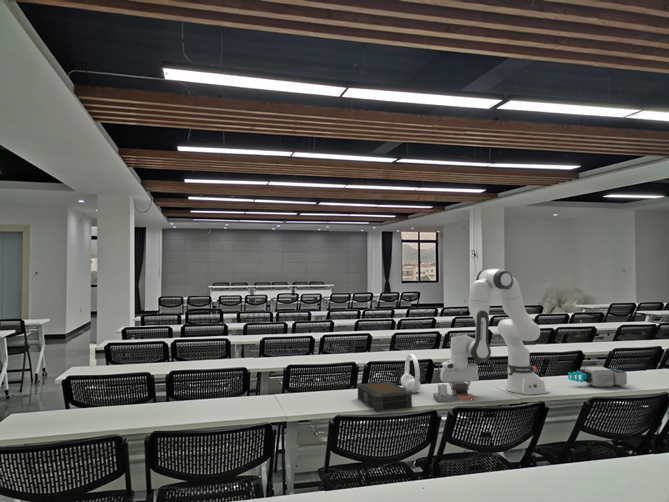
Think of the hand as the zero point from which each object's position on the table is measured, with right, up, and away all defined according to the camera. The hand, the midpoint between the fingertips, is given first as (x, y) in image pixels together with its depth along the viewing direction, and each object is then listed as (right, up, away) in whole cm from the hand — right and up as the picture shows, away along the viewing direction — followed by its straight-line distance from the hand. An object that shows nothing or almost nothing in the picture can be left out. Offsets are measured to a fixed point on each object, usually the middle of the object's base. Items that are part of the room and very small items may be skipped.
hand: (459, 389), depth 247 cm
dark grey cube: (0, -2, 0) cm, 2 cm away
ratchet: (-6, -2, -10) cm, 11 cm away
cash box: (-43, -3, -15) cm, 45 cm away
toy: (+83, -3, +17) cm, 85 cm away
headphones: (-25, -3, +10) cm, 27 cm away
